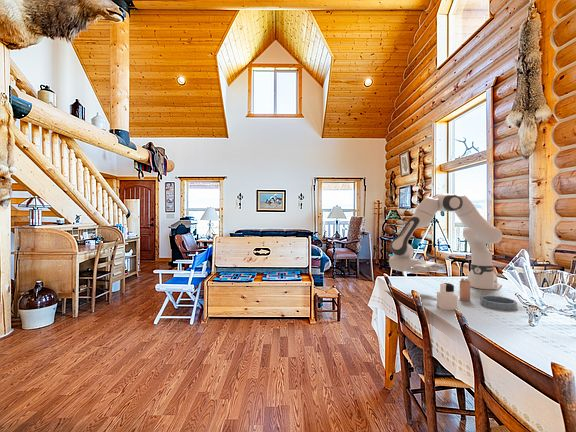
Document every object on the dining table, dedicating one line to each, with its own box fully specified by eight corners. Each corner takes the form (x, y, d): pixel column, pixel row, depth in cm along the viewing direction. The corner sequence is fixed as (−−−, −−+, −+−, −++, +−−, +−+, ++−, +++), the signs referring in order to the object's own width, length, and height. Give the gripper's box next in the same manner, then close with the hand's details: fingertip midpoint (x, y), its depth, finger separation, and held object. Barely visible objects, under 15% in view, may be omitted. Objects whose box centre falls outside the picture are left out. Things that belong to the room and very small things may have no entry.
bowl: (487, 299, 165) (487, 294, 165) (521, 306, 153) (521, 300, 153) (475, 304, 156) (475, 298, 156) (510, 312, 144) (510, 306, 144)
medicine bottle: (451, 305, 154) (451, 282, 154) (457, 310, 147) (457, 285, 147) (436, 305, 155) (436, 282, 154) (442, 309, 147) (442, 285, 147)
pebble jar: (462, 298, 168) (462, 277, 168) (471, 300, 164) (472, 278, 164) (457, 299, 165) (458, 278, 165) (467, 301, 161) (467, 280, 161)
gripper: (409, 262, 175) (434, 265, 165) (422, 259, 189) (445, 261, 180) (408, 273, 175) (434, 277, 165) (421, 269, 190) (445, 272, 180)
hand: (440, 268), depth 173 cm, fingers open, 8 cm apart
